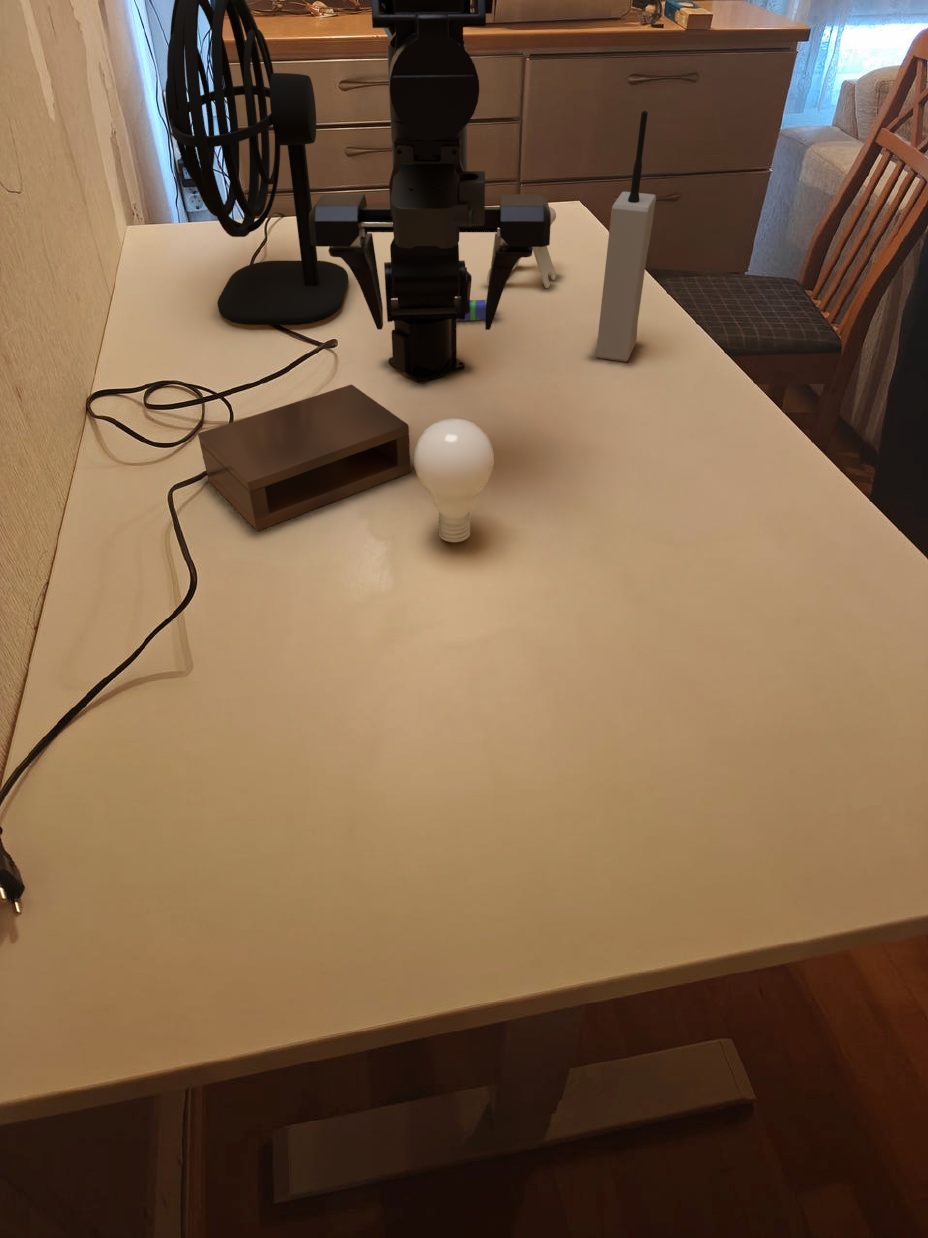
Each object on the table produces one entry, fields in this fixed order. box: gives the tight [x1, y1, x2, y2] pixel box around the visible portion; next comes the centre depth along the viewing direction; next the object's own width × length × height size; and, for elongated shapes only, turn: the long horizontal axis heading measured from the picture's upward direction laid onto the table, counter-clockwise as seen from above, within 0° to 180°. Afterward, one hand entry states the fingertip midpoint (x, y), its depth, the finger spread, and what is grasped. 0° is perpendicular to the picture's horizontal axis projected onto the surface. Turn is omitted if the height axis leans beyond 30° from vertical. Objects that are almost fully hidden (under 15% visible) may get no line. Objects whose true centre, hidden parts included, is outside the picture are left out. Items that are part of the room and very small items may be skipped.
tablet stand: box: [486, 206, 557, 289], centre depth 116 cm, size 9×8×8 cm
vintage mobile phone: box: [595, 110, 657, 363], centre depth 93 cm, size 4×5×25 cm
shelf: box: [197, 384, 412, 532], centre depth 80 cm, size 16×10×5 cm, turn 127°
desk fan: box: [165, 0, 350, 326], centre depth 102 cm, size 27×18×35 cm, turn 0°
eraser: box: [457, 299, 487, 322], centre depth 108 cm, size 2×6×2 cm, turn 98°
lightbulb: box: [413, 417, 495, 543], centre depth 70 cm, size 6×6×11 cm
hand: (433, 328), depth 74 cm, fingers open, 9 cm apart
